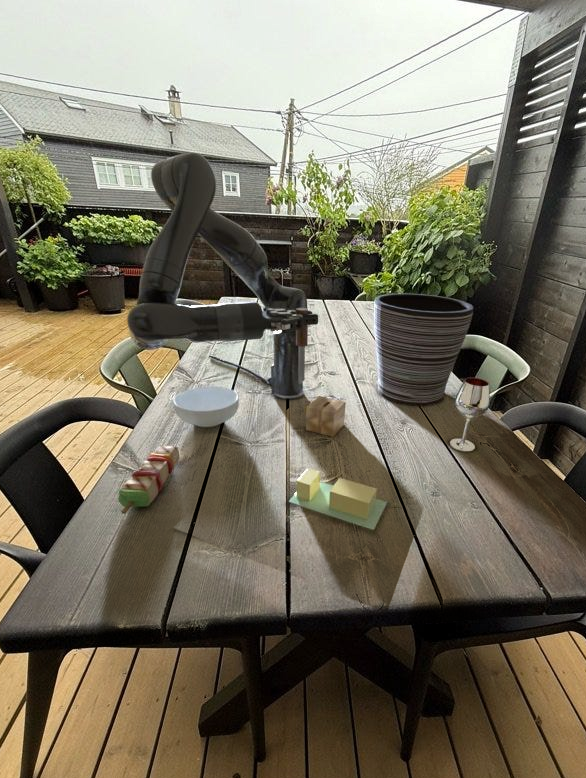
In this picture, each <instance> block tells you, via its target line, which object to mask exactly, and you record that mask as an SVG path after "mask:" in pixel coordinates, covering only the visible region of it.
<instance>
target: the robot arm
mask: <svg viewBox="0 0 586 778" xmlns="http://www.w3.org/2000/svg"><path fill="white" fill-rule="evenodd" d="M150 177H151V183H152V186H153V188H154V191H155V193H156V195H157V196H158V197H159V199H160V200H161V201H162V202H163V204H164V205H165V206H166V207H167V208H168V209H170V211H171V213H170V216H169V218H168V219H167V220H166V222H165V224H164V225H163V227H161V229H160V231H159V232H158V234H157V235H156V236H155V238H154V239H153V241H152V243H151V245H150V246H149V248H148V250H147V253H146V255H145V259H144V263H143V267H142V271H141V273H140V277H139V284H138V285H139V286H138V287H139V288H138V289H139V292H138V296H137V297H138V298H137V301H136V305H135V306H134V307H132V308H131V309H130V310H129V312H128V314H127V318H126V323H127V328H128V334H129V337H130V339H131V340H132V342H133V343H134V344H135V345H136V346H137V347H139V348H140V349H143V350H147V351H155V350H158V349H160V348H162V347H163V346H164V345H166V343H167V342H168V340H187V341H188V342H190V343H211V342H240V341H251V340H252V341H253V340H260V339H262V338H263V337H264V334H265V333H264V332H265V331H266V330H269V331H270V332H273V333H272V351H273V353H272V354H273V359H272V360H273V364H271V365H270V375H271V376H269V377H268V378H267V380H266V379H265V378H263V377H262V376H261V375H259V374H258V373H256V372H254V371H253V370H250V369H248V368H247V367H244V366H242V365H239V364H236V363H234V362H231V361H228V360H225V359H223V360H224V361H223V360H222V358H220V357H217V356H215V355H212V356H210V355H211V354H209V355H208V357H209V358H211V359H214V360H216V361H219V362H221V363H224V364H227V365H230V366H232V367H235V368H238V369H241V370H242V371H245V372H247V373H249V374H251V375H252V376H254V377H256V378H257V379H259V380H261V382H264V383H266V384H267V385H270V387H271V388H270V389H271V395H273V396H275V397H276V398H279V399H283V400H295V399H299V398H301V397H302V396H303V395H304V381H303V382H301V383H300V384H299V346H297V345H296V330H300V329H303V325H308V326H314V325H315V326H316V325H318V324H319V315H318V314H317V313H313V311H311V310H308V314H296V309H297V308H306V309H308V299H307V298H308V297H307V295H306V293H305V292H304V291H303V290H302V289H300V288H296V287H289V286H283V285H281V284H280V283H278V282H277V281H276V280H275V278H274V277H273V276H272V275H271V274H270V272H269V263H268V256H267V254H266V252H265V250H264V249H263V247H262V246H261V245H260V243H259V242H258V241H257V240H256V238H255V237H254V236H253V235H252V234H251V233H250V231H248V230H247V229H246V228H244V227H243V226H241V225H240V224H238V223H236V222H235V221H233V220H231V219H229V218H228V217H225V216H223V215H222V214H220V213H219V212H217V211H216V210H215V209H213V208H212V207H211V206H212V204H213V201H214V199H215V195H216V191H217V179H216V175H215V171H214V169H213V167H212V165H211V164H210V162H209V160H207V158H206V157H205V156H203V155H202V154H200V153H198V152H184V153H180V154H177V155H174V156H169V157H167V158H165V159H161V160H159V161H158V162H156V163H155V164H154V165H153V166H152V168H151V172H150ZM198 235H199V237H201V238H202V240H204V241H205V243H207V244H208V246H209V247H211V249H213V251H215V253H216V254H218V256H219V257H220V258H221V259H222V260H223V262H225V264H226V265H227V266H228V268H230V270H231V271H233V273H235V274H236V276H238V278H239V279H241V280H242V281H243V282H244V284H245V285H246V286H247V287H248V288H249V289H250V290H251V291H252V292H253V293H254V294H255V295H256V296H257V298H258V300H259V301H260V303H261V304H262V305H263V308H262V306H261V304H260V303H259V302H257V301H250V302H249V301H247V302H225V303H218V304H207V305H191V306H189V305H183V304H177V303H176V302H177V299H178V296H179V294H180V291H181V287H182V284H183V283H182V282H183V279H184V275H185V271H186V267H187V263H188V261H189V257H190V253H191V251H192V249H193V246H194V244H195V241H196V239H197V237H198ZM296 321H297V324H296ZM213 356H214V357H213ZM220 359H221V360H220Z"/></svg>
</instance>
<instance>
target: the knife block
mask: <svg viewBox="0 0 586 778" xmlns="http://www.w3.org/2000/svg"><path fill="white" fill-rule="evenodd" d="M346 403H347V401H344V400H339V399H334V398H329V397H326V396H321V395H319V396H318V397H316V398H315V399H314V400H313V401H312V402H310V403H309V404H308V405H307V406H306V411H305V413H306V415H305V418H306V419H305V430H306V431H309V432H313V433H316V434H320V435H324V436H327V437H333V438H334V436H336V434H337V433H338V432H339V431H340V430H341V429H342V428H343V426H344V425H345V420H346V419H345V418H346V405H347V404H346Z"/></svg>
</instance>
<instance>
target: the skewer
mask: <svg viewBox="0 0 586 778" xmlns="http://www.w3.org/2000/svg"><path fill="white" fill-rule="evenodd" d="M179 461H180V450H179V448H178V447H177V446H173V445H163V444H162V445H159V446H157V448H156V449H155V450H154V451H153V452H152V453H149V455H148V458H146V460H144V462H143V463H142V464H141V466H140V467H139V468H138V470H134V471H133V473H131V476H130V477H129V478H128V480H127V481H125V482H124V484H123V485H122V486H121V488H120V489H119V490H118V502H119V503H120V505H121V506H122V507H124V508H123V509H122V510H121V514H122V515H126V514H127V512H128V511H129V510H130V508H133V507H135V508H136V507H139V508H140V507H141V508H142V507H143V508H145V507H149V506H150V504H151V503H153V501H154V500H155V498H156V497H157V495H158V494H159V492H161V490H162V489H164V487H165V482H166V481H167V479H168V478H169V477H170V475H172V473H173V470H175V466H176V465H177V463H178V462H179Z"/></svg>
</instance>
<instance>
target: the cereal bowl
mask: <svg viewBox="0 0 586 778" xmlns="http://www.w3.org/2000/svg"><path fill="white" fill-rule="evenodd" d="M172 403H173V404H172V405H173V410H174V412H175V414H176V416H177V417H178V418H179V419H180V420H181V421H183V422H184V423H187V424H189V425H193V426H197V427H200V428H212V427H217V426H219V425H221V424H224V423H225V422H227V421H229V420H231V419H232V418H233V417H235V415H236V413H237V412H238V409H239V405H240V398H239V394H238V393H237V392H236V391H235V390H234V389H230V388H227V387H222V386H199V387H194V388H189V389H187V390H184V391H181V392H180V393H177V394H176V395H175V396H174V397H173V399H172Z"/></svg>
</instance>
